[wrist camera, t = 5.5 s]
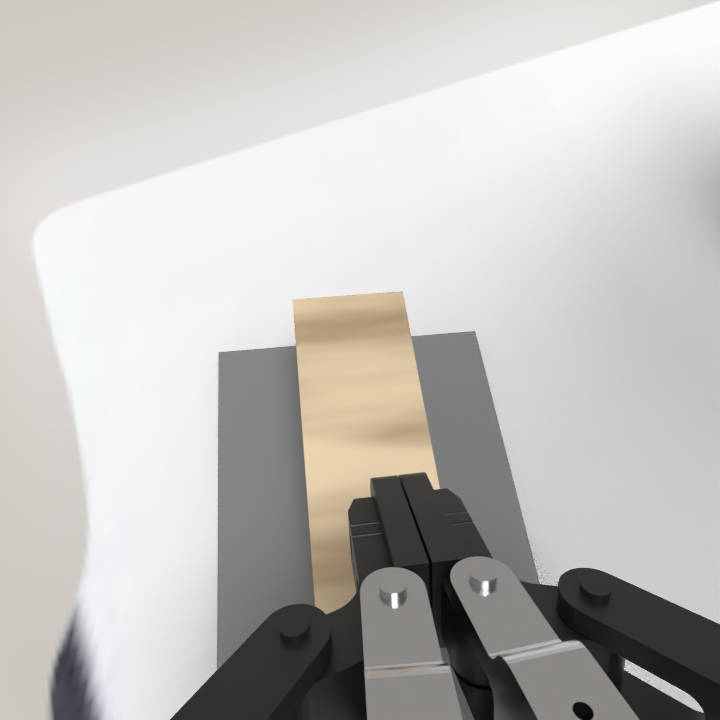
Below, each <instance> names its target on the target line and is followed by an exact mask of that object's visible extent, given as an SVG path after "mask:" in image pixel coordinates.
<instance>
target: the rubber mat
mask: <svg viewBox="0 0 720 720" xmlns="http://www.w3.org/2000/svg"><path fill="white" fill-rule="evenodd" d="M411 339H412V344H413V349H414V355H415V360H416V365H417V370H418V376H419V381H420V386H421V391H422V397H423V402H424V407H425V412H426V418H427V423H428V428H429V434H430V439H431V444H432V449H433V455H434V460H435V465H436V470H437V476H438V481H439V486H440V489H445V488H447V489H449V490H450V491H451V492H453V493H454V494H455V495H457V496H458V497H459V498H461V500H462V502H463V504H464V506H465V508H466V509H467V513H469V515H470V517H471V519H472V521H473V524H475V526H476V528H477V530H478V532H479V533H480V535H481V537H482V539H483V541H484V543H485V545H486V546H487V548H488V550H489V552H490V554H491V556H492V557H493V559H495V560H498V561H500V562H502V563H503V564H505V565H507V566H508V567H509V568H510V569H511V570H512V571H513V573H514V574H515V576H516V577H517V578H518V580H521V581H524V582H528V583H533V584H539V580H538V576H537V572H536V568H535V564H534V560H533V556H532V552H531V548H530V545H529V541H528V537H527V533H526V529H525V525H524V521H523V517H522V513H521V509H520V505H519V502H518V498H517V494H516V490H515V486H514V482H513V478H512V474H511V470H510V466H509V463H508V459H507V455H506V451H505V447H504V443H503V439H502V435H501V431H500V427H499V423H498V420H497V416H496V412H495V408H494V404H493V400H492V396H491V392H490V388H489V384H488V380H487V377H486V373H485V369H484V365H483V361H482V357H481V353H480V349H479V345H478V341H477V337H476V334H475V331H472V332H460V333H448V334H436V335H424V336H411ZM293 604H308V605H312V606H315V597H314V583H313V569H312V556H311V542H310V528H309V515H308V501H307V487H306V474H305V460H304V446H303V433H302V419H301V405H300V392H299V378H298V364H297V350H296V346H290V347H278V348H266V349H254V350H242V351H230V352H219V415H218V642H217V670H218V669H219V668H220V667H221V666H222V665H223V664H224V663H225V662H226V661H227V659H228V658H229V657H230V656H231V655H232V654H233V653H234V652H235V651H236V650H237V649H238V648H239V647H240V646H241V645H242V644H243V643H244V642H245V641H246V640H247V639H248V637H249V636H250V635H251V634H252V633H253V632H254V631H255V630H256V629H257V628H258V627H259V626H260V625H261V624H262V623H263V622H264V621H265V620H266V619H267V618H268V617H269V616H270V615H271V614H272V613H274V612H275V611H277V610H278V609H280V608H282V607H285V606H288V605H293ZM440 651H441V656H442V660H443V663H448V665H449V667H450V657H449V654H448V651H447V648H446V647H445V648H440ZM458 702H459V700H458ZM459 706H460V710H461V714H462V719H463V720H466V718H465V715H464V713H463V710H462V708H461V705H460V703H459Z"/></svg>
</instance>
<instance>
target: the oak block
mask: <svg viewBox="0 0 720 720" xmlns="http://www.w3.org/2000/svg"><path fill="white" fill-rule="evenodd" d="M293 309H294V323H295V337H296V350H297V364H298V378H299V392H300V405H301V419H302V433H303V446H304V460H305V474H306V487H307V501H308V515H309V528H310V542H311V556H312V569H313V583H314V597H315V607H317V608H319V609H321V610H322V611H323V612H324V613H325V614H328V613H331V612H333V611H335V610H337V609H339V608H341V607H343V606H344V605H346V604H347V603H348V602H349V601H350V600H351V599H352V598H353V597H354V595H355V594H356V588H355V582H354V574H353V569H352V562H351V551H350V537H349V522H348V510H349V508H350V506H351V503H352V501H353V499H357V498H366V497H371V493H370V478H375V477H384V476H394V475H397V476H398V475H402V474H411V473H420V472H425V473H426V474H427V476H428V478H429V480H430V482H431V485H432V487H433V489H434V490H436V489H440V486H439V481H438V476H437V470H436V465H435V460H434V455H433V449H432V444H431V439H430V434H429V428H428V423H427V418H426V412H425V407H424V402H423V397H422V391H421V386H420V381H419V376H418V370H417V365H416V360H415V355H414V349H413V344H412V339H411V334H410V328H409V323H408V318H407V312H406V307H405V302H404V297H403V291H402V292H389V293H375V294H361V295H348V296H334V297H321V298H307V299H294V300H293Z"/></svg>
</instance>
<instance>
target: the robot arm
mask: <svg viewBox="0 0 720 720" xmlns="http://www.w3.org/2000/svg"><path fill="white" fill-rule="evenodd" d="M370 493H371V497H366V498H357V499H353V501H352V503H351V506H350V508H349V510H348V522H349V537H350V551H351V562H352V569H353V574H354V582H355V588H356V594H355V595H354V597H353V598H352V599H351V600H350V601H349V602H348V603H347V604H346V605H344V606H343V607H341V608H339V609H337V610H335V611H333V612H331V613H328V614H325V613H324V612H323V611H322V610H321V609H319V608H317V607H315V606H312V605H308V604H293V605H288V606H285V607H282V608H280V609H278V610H277V611H275V612H274V613H272V614H271V615H270V616H269V617H268V618H267V619H266V620H265V621H264V622H263V623H262V624H261V625H260V626H259V627H258V628H257V629H256V630H255V631H254V632H253V633H252V634H251V635H250V636H249V637H248V639H247V640H246V641H245V642H244V643H243V644H242V645H241V646H240V647H239V648H238V649H237V650H236V651H235V652H234V653H233V654H232V655H231V656H230V657H229V658H228V659H227V661H226V662H225V663H224V664H223V665H222V666H221V667H220V668H219V669H218V670H217V671H216V672H215V673H214V674H213V675H212V676H211V677H210V678H209V679H208V680H207V682H206V683H205V684H204V685H203V686H202V687H201V688H200V689H199V690H198V691H197V692H196V693H195V694H194V695H193V696H192V697H191V698H190V699H189V700H188V701H187V702H186V704H185V705H184V706H183V707H182V708H181V709H180V710H179V711H178V712H177V713H176V714H175V715H174V716H173V717H172V718H171V719H170V720H463V719H462V714H461V710H460V706H459V703H460V705H461V708H462V710H463V713H464V715H465V718H466V720H720V624H718V623H715V622H713V621H711V620H709V619H707V618H704V617H702V616H700V615H698V614H696V613H693V612H691V611H689V610H687V609H685V608H682V607H680V606H678V605H676V604H674V603H671V602H669V601H667V600H665V599H663V598H660V597H658V596H656V595H654V594H652V593H649V592H647V591H645V590H643V589H641V588H639V587H636V586H634V585H632V584H630V583H628V582H625V581H623V580H621V579H619V578H617V577H614V576H612V575H610V574H608V573H605V572H603V571H599V570H596V569H591V568H576V569H572V570H569V571H567V572H565V573H564V574H563V575H562V576H561V577H560V579H559V582H558V587H557V586H549V585H541V584H533V583H528V582H524V581H521V580H518V578H517V577H516V576H515V574H514V573H513V571H512V570H511V569H510V568H509V567H508V566H507V565H505V564H503V563H502V562H500V561H498V560H495V559H493V557H492V556H491V554H490V552H489V550H488V548H487V546H486V545H485V543H484V541H483V539H482V537H481V535H480V533H479V532H478V530H477V528H476V526H475V524H473V521H472V519H471V517H470V515H469V513H467V509H466V508H465V506H464V504H463V502H462V500H461V498H459V497H458V496H457V495H455V494H454V493H453V492H451V491H450V490H449V489H447V488H445V489H436V490H434V489H433V487H432V485H431V482H430V480H429V478H428V476H427V474H426V473H425V472H420V473H411V474H402V475H398V476H397V475H394V476H384V477H375V478H370ZM445 647H446V648H447V651H448V654H449V657H450V667H449V665H448V663H443V660H442V656H441V651H440V648H445ZM625 659H627V660H629V661H631V662H632V663H634V664H636V665H638V666H640V667H641V668H643V669H645V670H647V671H649V672H650V673H652V674H654V675H656V676H658V677H659V678H661V679H663V680H665V681H667V682H668V683H670V684H672V685H674V686H676V687H678V688H679V689H681V690H683V691H685V692H686V693H688V694H689V695H691V696H692V697H693V698H694V699H695V700H696V701H697V702H698V703H699V705H700V706H701V707H702V709H703V711H704V713H701V712H698V711H695V710H693V709H691V708H690V707H688V706H686V705H684V704H682V703H681V702H679V701H677V700H675V699H674V698H672V697H670V696H668V695H667V694H665V693H663V692H661V691H660V690H658V689H656V688H654V687H653V686H651V685H649V684H647V683H646V682H644V681H642V680H640V679H639V678H637V677H635V676H633V675H631V674H630V673H628V672H626V671H624V666H625ZM458 700H459V702H458Z"/></svg>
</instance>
